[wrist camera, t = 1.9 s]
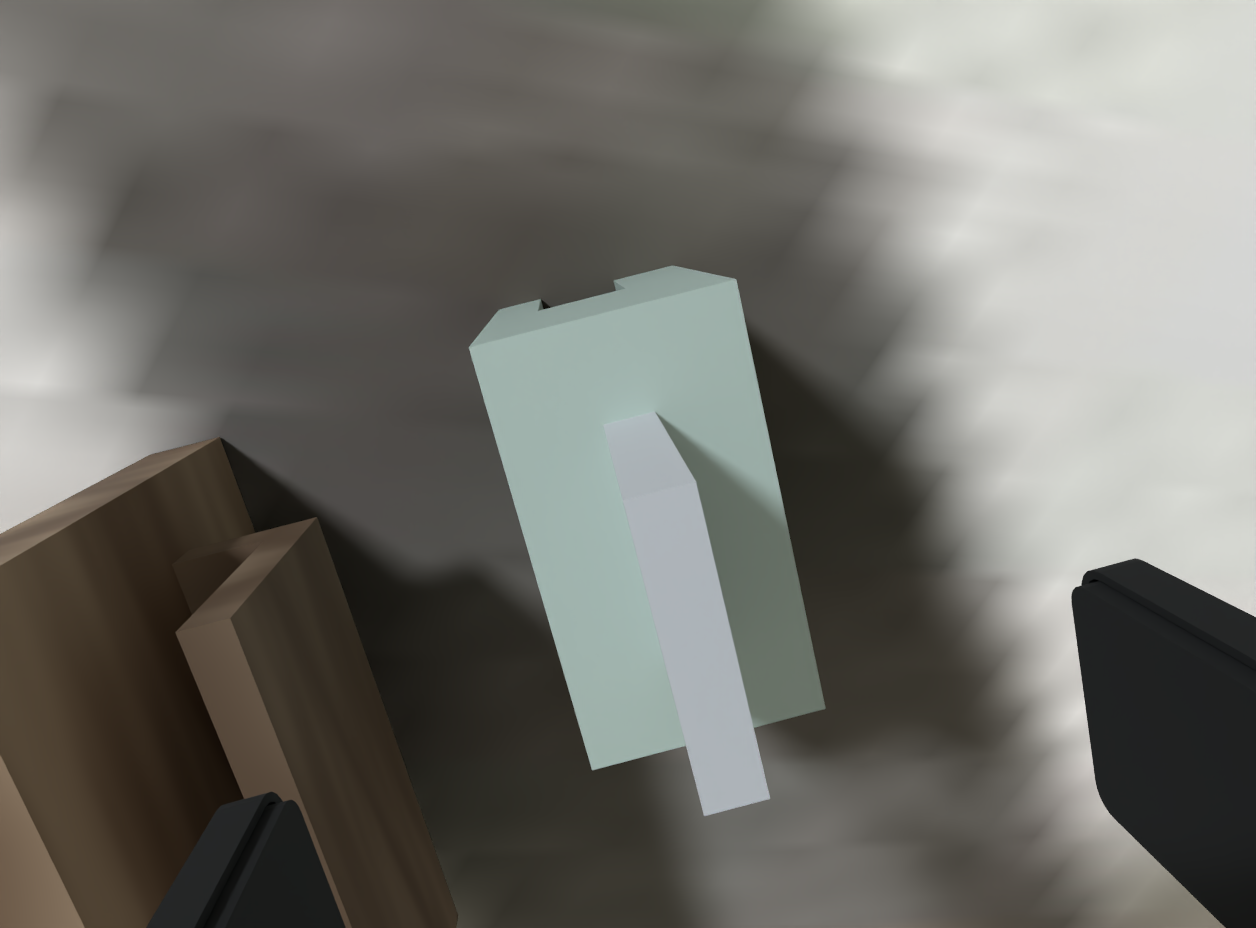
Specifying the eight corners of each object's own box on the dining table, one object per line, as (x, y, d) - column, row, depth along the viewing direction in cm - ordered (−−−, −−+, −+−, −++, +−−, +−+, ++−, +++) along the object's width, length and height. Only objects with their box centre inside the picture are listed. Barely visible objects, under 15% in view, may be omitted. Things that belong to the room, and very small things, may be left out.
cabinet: (672, 265, 25) (813, 295, 11) (738, 558, 27) (921, 874, 14) (498, 309, 25) (431, 393, 11) (580, 600, 27) (605, 960, 14)
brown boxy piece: (330, 408, 25) (136, 554, 13) (488, 874, 29) (444, 1295, 17) (-61, 508, 25) (-601, 743, 13) (153, 964, 29) (-115, 1448, 17)
